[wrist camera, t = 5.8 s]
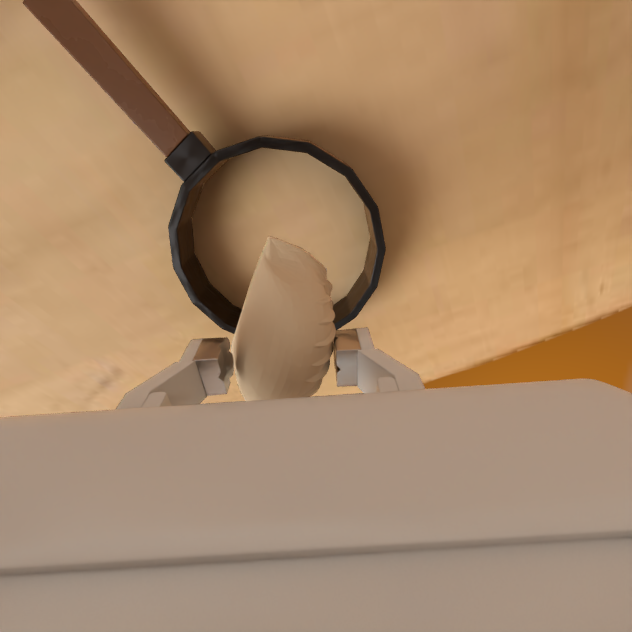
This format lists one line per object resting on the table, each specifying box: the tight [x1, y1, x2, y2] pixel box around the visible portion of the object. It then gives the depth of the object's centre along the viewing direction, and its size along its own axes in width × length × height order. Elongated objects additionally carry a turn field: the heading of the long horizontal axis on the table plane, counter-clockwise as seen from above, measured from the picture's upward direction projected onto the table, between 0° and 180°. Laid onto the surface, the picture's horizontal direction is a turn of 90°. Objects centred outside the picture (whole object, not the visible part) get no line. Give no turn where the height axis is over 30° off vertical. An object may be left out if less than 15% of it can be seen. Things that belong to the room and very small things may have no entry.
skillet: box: [23, 0, 386, 334], centre depth 22 cm, size 26×15×3 cm, turn 39°
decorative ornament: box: [231, 236, 336, 401], centre depth 14 cm, size 4×8×5 cm, turn 157°
